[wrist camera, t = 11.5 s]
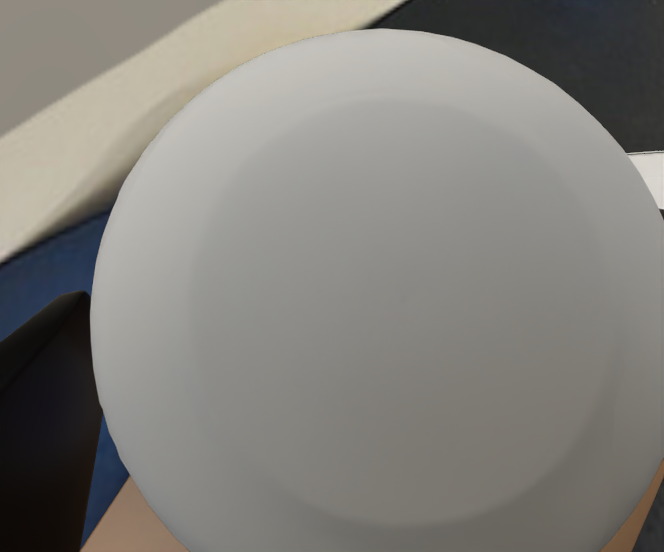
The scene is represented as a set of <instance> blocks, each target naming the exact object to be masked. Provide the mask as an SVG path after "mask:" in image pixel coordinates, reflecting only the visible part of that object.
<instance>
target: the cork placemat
mask: <svg viewBox="0 0 664 552" xmlns="http://www.w3.org/2000/svg"><path fill="white" fill-rule="evenodd" d="M663 478H664V458H663V460H662V462H661V464H660V466H659V468H658V470H657V472H656V474H655V476H654V478H653V480H652V482H651V484H650V486H649V488H648V489H647V491H646V493H645V494H644V496H643V497H642V499H641V500H640V502H639V504H638V505H637V507H636V508H635V510H634V511H633V513H632V514H631V515H630V517H629V518H628V519H627V520H626V522H625V523H624V524H623V526H622V527H621V528H620V529H619V531H618V532H617V533H616V534H615V536H614V537H613V538H612V540H611V541H610V542H609V543H608V544H606V545H605V546H604V547H603V548H602V549H601V550H600V551H599V552H631V551H632V549H633V547H634V545H635V542H636V540H637V538H638V535H639V533H640V531H641V528H642V526H643V524H644V522H645V519H646V517H647V515H648V512H649V510H650V508H651V505H652V503H653V501H654V499H655V496H656V494H657V492H658V489H659V487H660V485H661V482H662V480H663ZM80 552H190V551H189V550H188V549H187V548H186V547H185V546H184V545H183V544H182V543H180V542H179V541H178V540H177V539H176V538H175V537H174V536H173V534H172V533H171V532H170V531H169V530H168V529H167V527H166V526H165V525H164V524H163V522H162V521H161V520H160V519H159V517H158V516H157V515H156V514H155V512H154V511H153V510H152V509H151V507H150V506H149V505H148V503H147V502H146V500H145V498H144V497H143V495H142V493H141V492H140V490H139V488H138V487H137V485H136V484H135V482H134V480H133V479H132V477H131V475H130V476H129V477H128V479H127V480H126V482H125V483H124V485H123V486H122V488H121V489H120V491H119V492H118V494H117V495H116V497H115V498H114V500H113V502H112V503H111V505H110V506H109V508H108V509H107V511H106V512H105V514H104V515H103V517H102V518H101V520H100V521H99V523H98V524H97V526H96V527H95V529H94V530H93V532H92V533H91V535H90V536H89V538H88V539H87V541H86V543H85V544H84V546H83V547H82V549H81V550H80Z"/></svg>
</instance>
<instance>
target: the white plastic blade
mask: <svg viewBox="0 0 664 552" xmlns="http://www.w3.org/2000/svg"><path fill="white" fill-rule="evenodd" d="M652 152H664V151H652ZM638 153H649V152H638ZM626 154H636V153H626ZM628 157H629V158H630V160H631V161H632V162H633V164H634V165H635V167H636V168H637V169H638V171H639V172H640V174H641V176H642V178H643V179H644V181H645V183H646V185H647V187H648V188H649V190H650V192H651V194H652V196H653V197H654V199H655V202H656V204H657V206H658V208H659V209H664V153H653V154H639V155H628Z"/></svg>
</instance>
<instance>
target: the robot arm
mask: <svg viewBox="0 0 664 552" xmlns="http://www.w3.org/2000/svg"><path fill="white" fill-rule="evenodd" d="M659 211H660V213H661V215H662V217H663V220H664V209H659ZM90 308H91V297H90V296H89V294H88V293H87V292H85V291H83V290H80V291H75V292H70V293H65V294H62V295H60V296H58V297H57V298H56V299H54V300H53V301H52V302H51V303H49V304H48V305H47V306H46V307H44V308H43V309H42V310H41V311H39V312H38V313H37V314H36V315H34V316H33V317H32V318H30V319H29V320H28V321H27V322H25V323H24V324H23V325H22V326H20V327H19V328H18V329H17V330H15V331H14V332H13V333H12V334H10V335H9V336H8V337H6V338H5V339H4V340H3V341H1V342H0V552H80V547H81V541H82V535H83V529H84V523H85V517H86V511H87V505H88V499H89V493H90V487H91V481H92V475H93V469H94V463H95V457H96V451H97V446H98V440H99V434H100V428H101V422H102V416H103V409H102V407H101V405H100V403H99V397H98V392H97V386H96V381H95V376H94V370H93V359H92V349H91V331H90Z"/></svg>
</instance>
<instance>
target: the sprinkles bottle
mask: <svg viewBox="0 0 664 552" xmlns="http://www.w3.org/2000/svg"><path fill="white" fill-rule="evenodd" d="M90 331H91V349H92V359H93V370H94V376H95V381H96V386H97V392H98V397H99V403H100V405H101V407H102V409H103V412H104V416H105V419H106V423H107V427H108V430H109V433H110V435H111V437H112V439H113V441H114V443H115V445H116V448H117V451H118V454H119V457H120V459H121V461H122V462H123V464H124V465H125V467H126V469H127V470H128V472H129V474H130V475H131V477H132V479H133V480H134V482H135V484H136V485H137V487H138V488H139V490H140V492H141V493H142V495H143V497H144V498H145V500H146V502H147V503H148V505H149V506H150V507H151V509H152V510H153V511H154V512H155V514H156V515H157V516H158V517H159V519H160V520H161V521H162V522H163V524H164V525H165V526H166V527H167V529H168V530H169V531H170V532H171V533H172V534H173V536H174V537H175V538H176V539H177V540H178V541H179V542H180V543H182V544H183V545H184V546H185V547H186V548H187V549H188V550H189V551H190V552H599V551H600V550H601V549H602V548H603V547H604V546H605V545H606V544H608V543H609V542H610V541H611V540H612V538H613V537H614V536H615V534H616V533H617V532H618V531H619V529H620V528H621V527H622V526H623V524H624V523H625V522H626V520H627V519H628V518H629V517H630V515H631V514H632V513H633V511H634V510H635V508H636V507H637V505H638V504H639V502H640V500H641V499H642V497H643V496H644V494H645V493H646V491H647V489H648V488H649V486H650V484H651V482H652V480H653V478H654V476H655V474H656V472H657V470H658V468H659V466H660V464H661V462H662V460H663V458H664V220H663V217H662V215H661V213H660V211H659V208H658V206H657V204H656V202H655V199H654V197H653V196H652V194H651V192H650V190H649V188H648V187H647V185H646V183H645V181H644V179H643V178H642V176H641V174H640V172H639V171H638V169H637V168H636V167H635V165H634V164H633V162H632V161H631V160H630V158H629V157H628V155H627V154H626V153H625V151H624V150H623V149H622V147H621V146H620V145H619V144H618V143H617V142H616V141H615V139H614V138H613V137H612V136H611V135H610V134H609V133H608V131H607V130H606V129H605V128H604V127H603V126H602V125H601V124H600V123H599V122H598V121H597V120H596V119H595V118H594V117H593V116H592V115H591V114H590V113H589V112H587V111H586V110H585V109H584V108H583V107H582V106H581V105H580V104H579V103H578V102H576V101H575V100H574V99H573V98H572V97H570V96H569V95H568V94H567V93H565V92H564V91H563V90H562V89H560V88H559V87H558V86H557V85H556V84H554V83H553V82H551V81H549V80H548V79H546V78H544V77H543V76H541V75H539V74H537V73H536V72H534V71H532V70H531V69H529V68H527V67H525V66H524V65H522V64H520V63H518V62H516V61H514V60H512V59H510V58H509V57H507V56H505V55H502V54H500V53H497V52H494V51H492V50H489V49H487V48H484V47H481V46H479V45H476V44H473V43H470V42H466V41H463V40H460V39H456V38H453V37H448V36H442V35H437V34H432V33H427V32H421V31H408V30H394V29H370V30H357V31H347V32H340V33H333V34H326V35H321V36H316V37H312V38H307V39H303V40H300V41H297V42H294V43H291V44H288V45H285V46H282V47H279V48H277V49H274V50H271V51H269V52H266V53H264V54H262V55H260V56H258V57H256V58H254V59H252V60H250V61H248V62H246V63H243V64H241V65H239V66H238V67H236V68H235V69H233V70H231V71H230V72H228V73H227V74H225V75H224V76H222V77H220V78H219V79H217V80H216V81H214V82H213V83H211V84H210V85H209V86H208V87H206V88H205V89H204V90H203V91H201V92H200V93H199V94H197V95H196V96H195V97H194V98H192V99H191V100H190V101H189V102H188V103H187V104H186V105H185V106H184V107H183V108H182V109H181V110H180V111H179V112H178V113H176V114H175V115H174V116H173V117H172V118H171V119H170V120H169V121H168V122H167V123H166V125H165V126H164V127H163V128H162V129H161V131H160V132H159V133H158V134H157V135H156V137H155V138H154V139H153V140H152V141H151V143H150V144H149V145H148V146H147V147H146V149H145V150H144V152H143V154H142V155H141V157H140V158H139V160H138V162H137V163H136V165H135V166H134V168H133V169H132V171H131V172H130V174H129V175H128V177H127V178H126V180H125V182H124V184H123V186H122V188H121V190H120V192H119V195H118V198H117V201H116V203H115V205H114V207H113V209H112V212H111V215H110V217H109V220H108V223H107V226H106V228H105V231H104V234H103V236H102V240H101V244H100V248H99V252H98V256H97V261H96V266H95V274H94V281H93V288H92V296H91V308H90Z"/></svg>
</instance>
